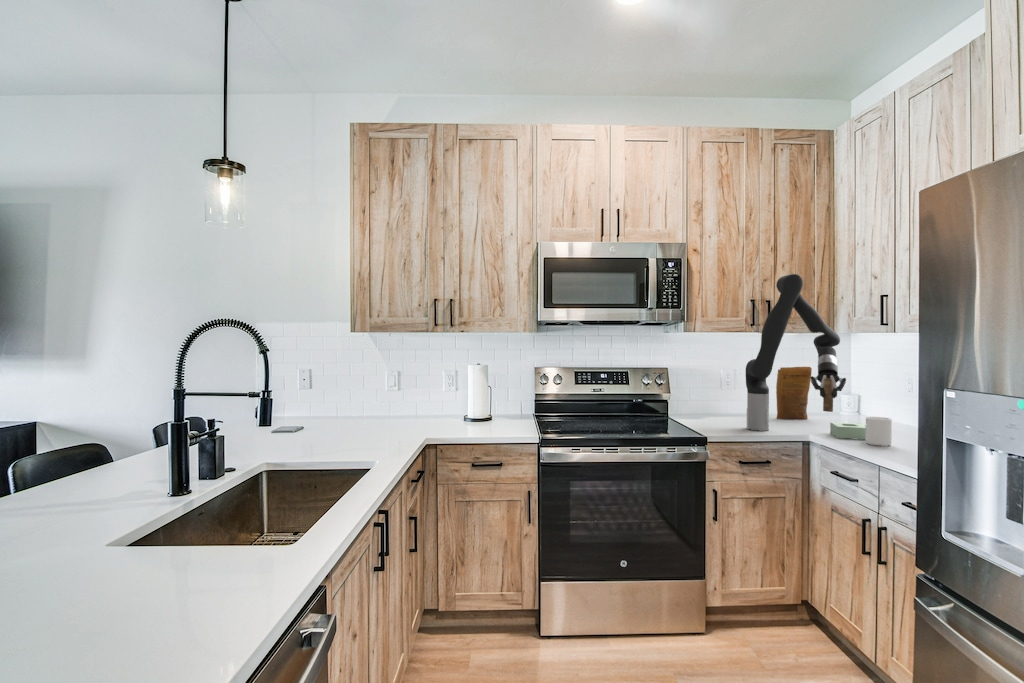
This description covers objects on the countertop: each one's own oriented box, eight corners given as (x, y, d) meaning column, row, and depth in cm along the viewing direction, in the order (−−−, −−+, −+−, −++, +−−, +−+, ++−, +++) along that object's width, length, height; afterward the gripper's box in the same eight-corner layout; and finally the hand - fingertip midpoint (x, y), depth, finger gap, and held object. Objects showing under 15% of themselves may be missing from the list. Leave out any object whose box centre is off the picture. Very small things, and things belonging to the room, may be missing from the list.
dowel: (824, 411, 221) (825, 378, 221) (822, 410, 225) (822, 378, 224) (833, 411, 220) (834, 379, 220) (831, 410, 224) (832, 378, 223)
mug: (877, 440, 218) (877, 415, 218) (896, 446, 206) (896, 419, 206) (856, 440, 219) (856, 415, 218) (873, 446, 207) (874, 419, 206)
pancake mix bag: (814, 420, 271) (815, 366, 271) (778, 419, 272) (778, 366, 272) (808, 418, 278) (808, 366, 278) (772, 417, 279) (772, 366, 278)
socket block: (837, 438, 223) (837, 426, 223) (830, 433, 234) (830, 422, 234) (870, 439, 219) (870, 428, 219) (861, 434, 231) (861, 423, 231)
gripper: (809, 360, 232) (809, 389, 222) (846, 361, 225) (849, 392, 215) (809, 371, 237) (809, 400, 226) (845, 373, 230) (847, 403, 220)
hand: (828, 396), depth 221 cm, fingers closed on dowel, 3 cm apart
